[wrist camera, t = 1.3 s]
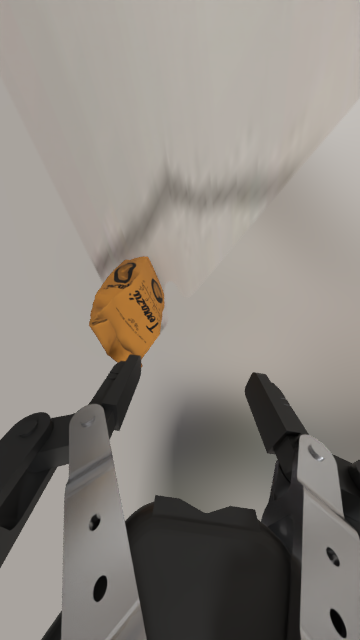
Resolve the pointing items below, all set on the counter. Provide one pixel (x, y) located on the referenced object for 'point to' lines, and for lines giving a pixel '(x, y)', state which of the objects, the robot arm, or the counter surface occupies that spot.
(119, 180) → the counter surface
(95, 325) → the coffee package
